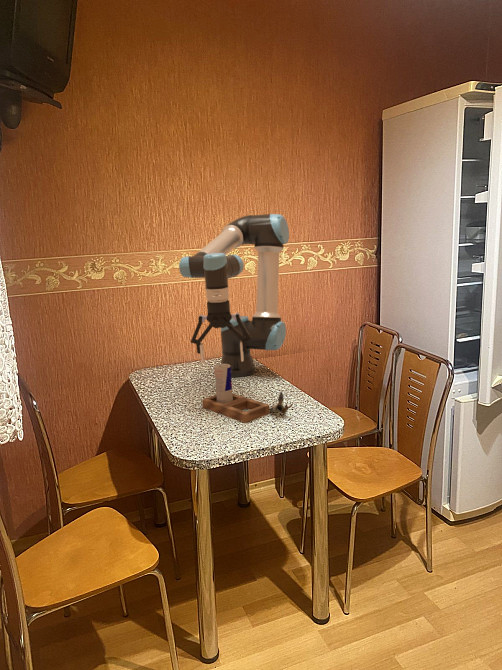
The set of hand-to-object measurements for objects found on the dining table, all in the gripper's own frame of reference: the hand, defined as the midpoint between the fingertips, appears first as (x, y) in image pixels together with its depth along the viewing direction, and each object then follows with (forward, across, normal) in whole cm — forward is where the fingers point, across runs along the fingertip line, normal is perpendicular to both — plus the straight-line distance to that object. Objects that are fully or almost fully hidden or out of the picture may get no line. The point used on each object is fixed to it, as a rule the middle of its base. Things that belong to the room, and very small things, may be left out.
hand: (222, 361), depth 190 cm
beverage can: (+16, 0, -1) cm, 17 cm away
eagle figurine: (+17, +19, -8) cm, 26 cm away
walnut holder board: (+16, +4, -5) cm, 17 cm away
